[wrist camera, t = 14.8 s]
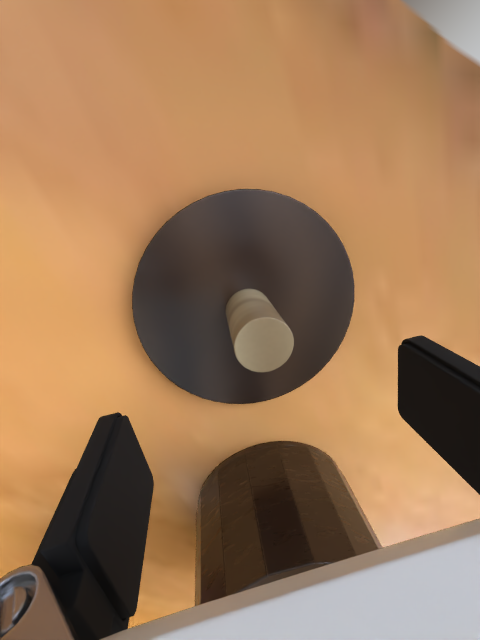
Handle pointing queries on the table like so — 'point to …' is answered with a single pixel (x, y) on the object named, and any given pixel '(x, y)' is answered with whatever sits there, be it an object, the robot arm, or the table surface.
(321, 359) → the basket lid
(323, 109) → the table surface
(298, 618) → the robot arm
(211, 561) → the basket
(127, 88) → the table surface
